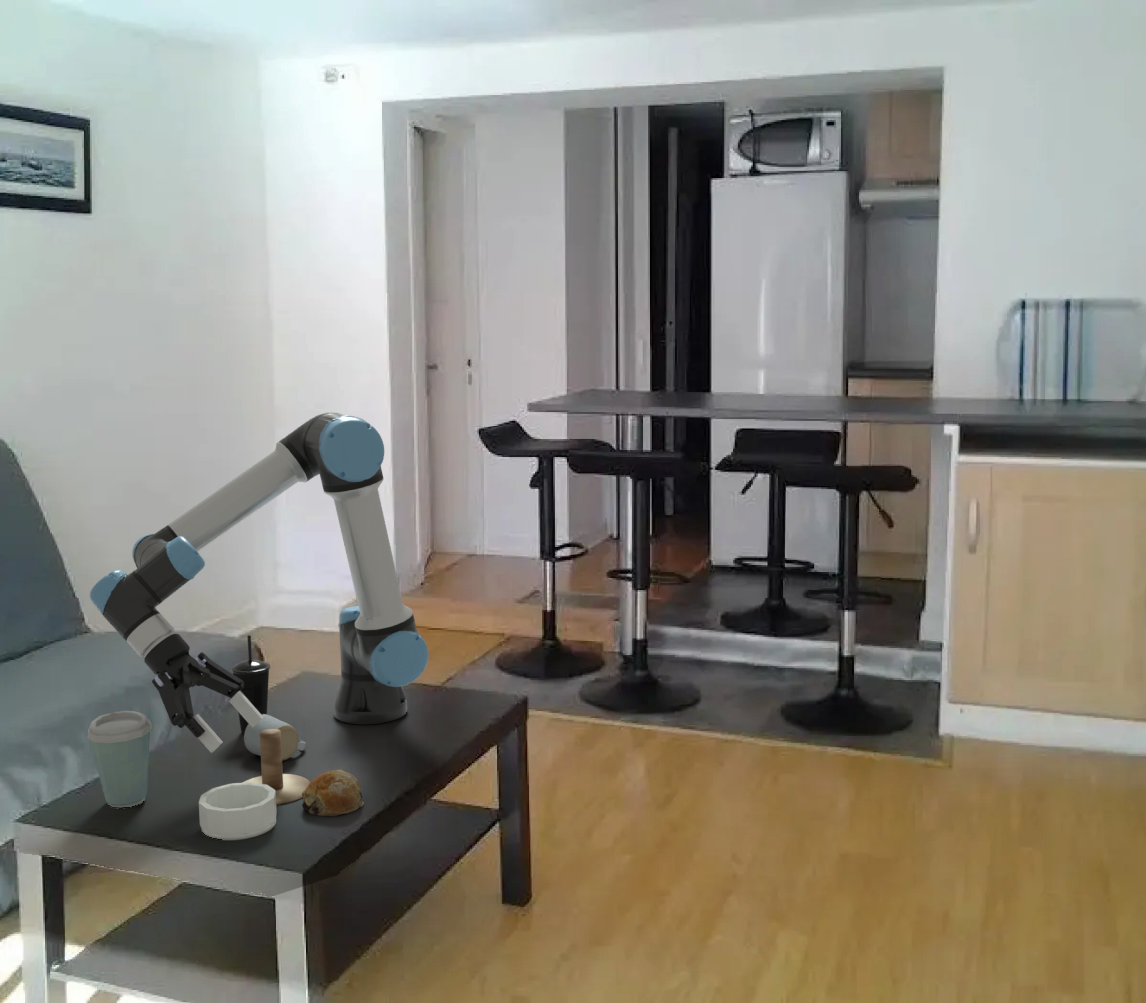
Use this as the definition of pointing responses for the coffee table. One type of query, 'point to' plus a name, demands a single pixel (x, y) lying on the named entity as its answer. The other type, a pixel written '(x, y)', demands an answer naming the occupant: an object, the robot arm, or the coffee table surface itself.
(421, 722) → the coffee table surface
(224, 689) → the robot arm
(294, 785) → the lid
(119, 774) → the disposable coffee cup
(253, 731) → the ceramic mug
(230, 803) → the bowl
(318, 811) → the bread roll
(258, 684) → the drinking cup
